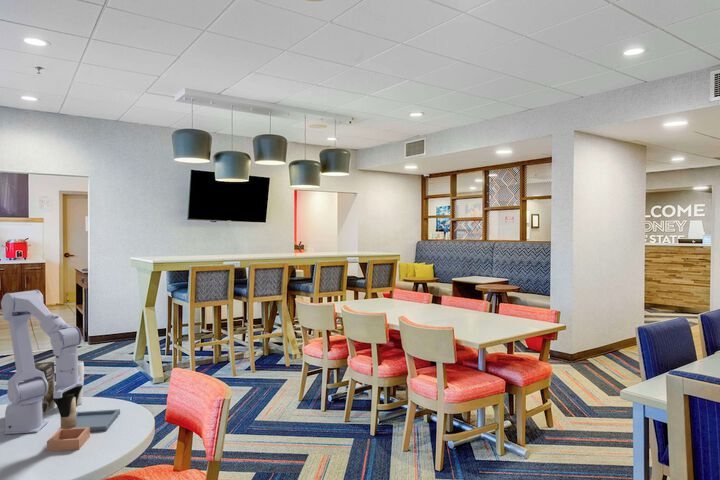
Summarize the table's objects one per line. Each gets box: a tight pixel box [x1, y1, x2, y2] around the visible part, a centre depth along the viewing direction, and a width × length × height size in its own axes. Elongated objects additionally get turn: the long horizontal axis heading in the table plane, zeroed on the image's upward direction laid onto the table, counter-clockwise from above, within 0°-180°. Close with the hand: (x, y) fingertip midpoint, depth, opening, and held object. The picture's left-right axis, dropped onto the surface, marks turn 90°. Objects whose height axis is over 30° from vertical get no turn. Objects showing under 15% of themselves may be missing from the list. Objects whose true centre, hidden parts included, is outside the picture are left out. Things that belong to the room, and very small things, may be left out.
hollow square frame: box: [46, 427, 91, 453], centre depth 150 cm, size 9×9×3 cm
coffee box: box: [23, 361, 56, 416], centre depth 175 cm, size 9×6×16 cm
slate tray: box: [58, 408, 121, 433], centre depth 165 cm, size 14×14×2 cm
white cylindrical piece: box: [77, 360, 85, 406], centre depth 181 cm, size 7×7×15 cm
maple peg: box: [60, 396, 77, 429], centre depth 150 cm, size 4×4×8 cm
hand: (68, 413), depth 150 cm, fingers closed on maple peg, 4 cm apart
